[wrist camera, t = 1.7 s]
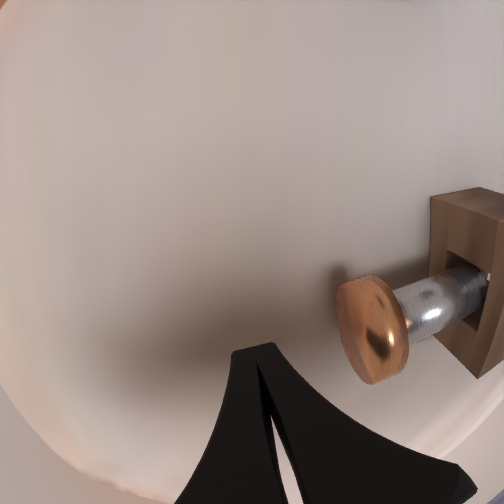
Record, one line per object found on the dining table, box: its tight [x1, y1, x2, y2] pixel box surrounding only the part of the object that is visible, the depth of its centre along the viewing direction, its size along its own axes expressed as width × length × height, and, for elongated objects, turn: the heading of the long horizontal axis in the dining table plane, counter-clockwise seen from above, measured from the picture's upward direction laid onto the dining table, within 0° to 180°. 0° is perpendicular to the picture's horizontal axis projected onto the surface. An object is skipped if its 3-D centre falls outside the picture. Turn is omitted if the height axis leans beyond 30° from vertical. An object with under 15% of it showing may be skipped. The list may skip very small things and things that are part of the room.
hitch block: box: [428, 187, 504, 379], centre depth 10 cm, size 4×7×5 cm, turn 11°
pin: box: [336, 262, 487, 385], centre depth 10 cm, size 6×4×4 cm, turn 101°
